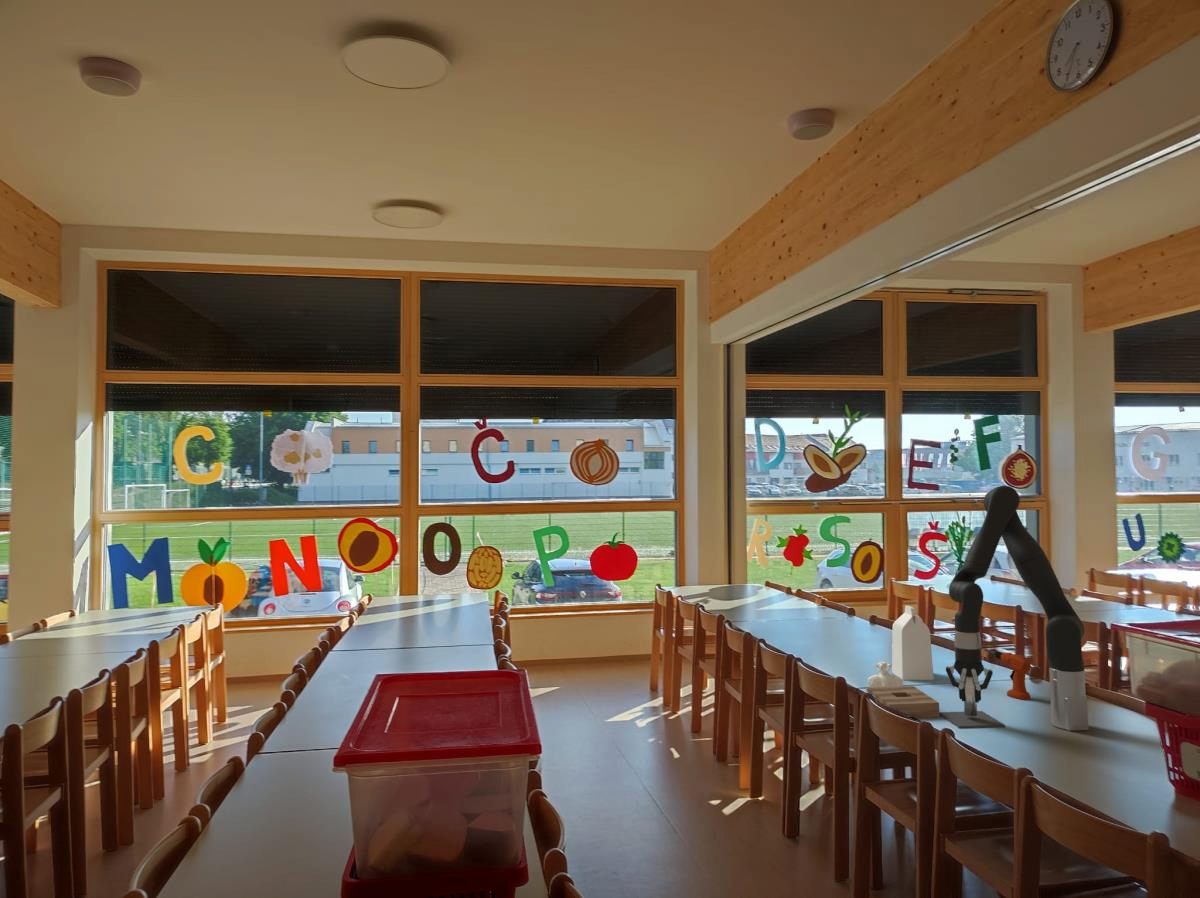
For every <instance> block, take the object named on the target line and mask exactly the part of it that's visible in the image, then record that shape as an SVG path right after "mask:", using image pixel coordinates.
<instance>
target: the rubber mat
mask: <svg viewBox="0 0 1200 898" xmlns="http://www.w3.org/2000/svg"><path fill="white" fill-rule="evenodd" d="M939 715H941V716H940V717H942V718H943V717H944V719H945V720H946V719H947V721H948V722H949V721H950V722H949V723H951V724H952V725H954V726H957V727H956V728H958V729H980V728H981V729H982V728H1005V727H1006V724H1005V723H1003V722H1001V721H999V720H998V719H996V718H994V717H993V716H991V715H989V714H987V713H986V712H985V711H983V710H977V716H967V715H965V714H964V710H963V711H941V712H940V711H939Z"/></svg>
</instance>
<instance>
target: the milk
mask: <svg viewBox="0 0 1200 898" xmlns="http://www.w3.org/2000/svg"><path fill="white" fill-rule="evenodd" d="M915 609H916V608H914V607H913V606H911V605H905V606H904V613H903V614H901V615H900V616H899V617H898V618H897V619H896V620H895V621H894V622H893V624H892V629H891V631H892V634H891V635H892V636H891V638H892V640H891V641H892V642H891V647H892V648H891V664H892V666H891V673H893V675H896V676H898V677H900V678H901V679H902V680H903V681H926V680H927V681H932V680H935V677H934V676H935V675H934V668H933V667H934V665H933V664H934V663H933V654H932V653H933V652H932V642H931V641H932V640H931V631H930V628H929V626H928V625H927V624H925V623H924V621H923V619H922V617H920V616H919V615H916V610H915Z"/></svg>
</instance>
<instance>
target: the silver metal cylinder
mask: <svg viewBox="0 0 1200 898" xmlns="http://www.w3.org/2000/svg"><path fill="white" fill-rule="evenodd" d="M963 689H964V701H963V711H964V714H965V715H967V716H977V711H978V706H977V705H978V702H976V685H975V682H974V678H973V677H968V676H965V680H964V685H963Z"/></svg>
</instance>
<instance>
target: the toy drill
mask: <svg viewBox="0 0 1200 898" xmlns="http://www.w3.org/2000/svg"><path fill="white" fill-rule="evenodd" d="M983 651H985V652H986V653H989V654H992V655H994V657H995V658H996V659H998V660H1000V662H1002V663H1003V664H1004V665H1006V666H1008V667H1009V668H1010V669H1011V674H1010V675H1009V678H1010V679H1011V680H1012V689H1009V690H1008V691H1006V696H1008V697H1010V698H1013V699H1017V700H1023V701H1028V700H1031V694H1030V692H1028V691H1027V687H1026V680H1025V679H1026V674H1028V673H1029V671H1030V670H1031V667H1032V664H1031V663H1030V660H1028V658H1026V657H1025V656H1024V655H1023V654H1015V653H1014V654H1013V653H1012V652H1002V651H999V650H997V651H993V650H991V649H988V648H984V650H983Z"/></svg>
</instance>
